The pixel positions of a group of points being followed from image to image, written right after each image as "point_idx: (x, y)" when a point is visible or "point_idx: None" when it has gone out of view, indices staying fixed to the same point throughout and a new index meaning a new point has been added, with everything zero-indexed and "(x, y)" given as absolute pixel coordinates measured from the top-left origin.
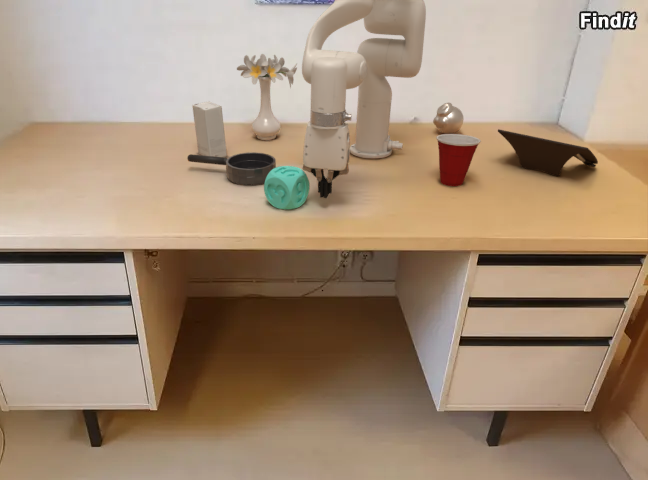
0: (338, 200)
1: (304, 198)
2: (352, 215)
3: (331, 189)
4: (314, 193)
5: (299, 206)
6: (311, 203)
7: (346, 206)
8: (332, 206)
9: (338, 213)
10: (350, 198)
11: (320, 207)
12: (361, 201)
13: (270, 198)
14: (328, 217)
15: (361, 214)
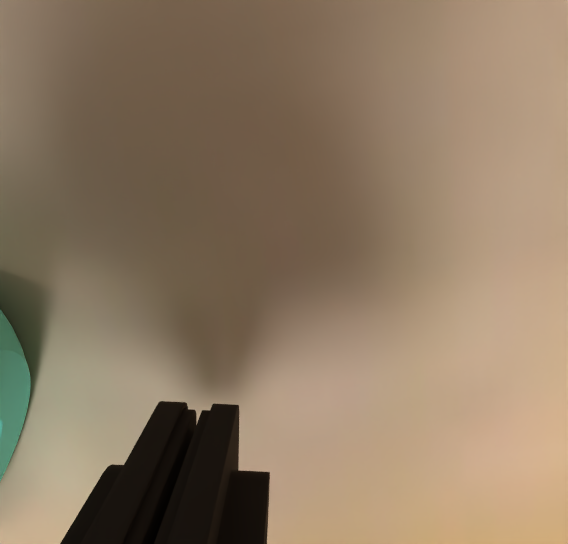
0: (320, 214)
1: (8, 398)
2: (468, 476)
3: (267, 510)
4: (46, 90)
5: (20, 432)
6: (94, 331)
7: (408, 328)
8: (286, 353)
9: (355, 465)
10: (435, 138)
11: (191, 391)
12: (548, 189)
13: None
14: (289, 536)
15: (540, 448)
